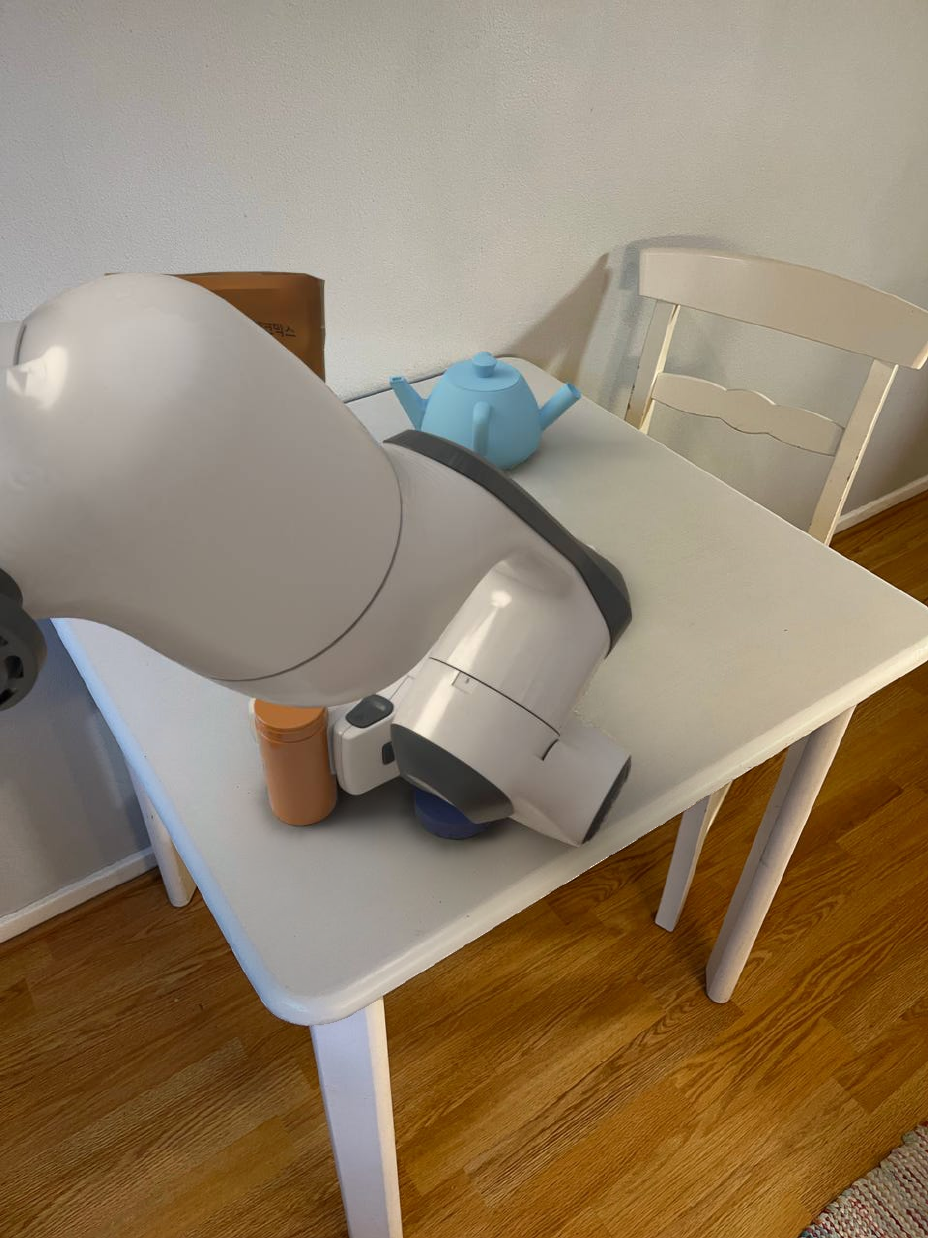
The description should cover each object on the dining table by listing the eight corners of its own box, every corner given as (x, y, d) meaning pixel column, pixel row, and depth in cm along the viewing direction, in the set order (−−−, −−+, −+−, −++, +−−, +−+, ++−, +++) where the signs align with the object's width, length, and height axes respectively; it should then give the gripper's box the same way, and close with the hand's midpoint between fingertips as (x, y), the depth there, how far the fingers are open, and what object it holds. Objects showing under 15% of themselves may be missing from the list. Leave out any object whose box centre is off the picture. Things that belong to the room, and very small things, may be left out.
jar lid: (513, 807, 67) (514, 793, 66) (454, 854, 64) (455, 840, 63) (455, 761, 71) (456, 747, 70) (396, 804, 67) (396, 790, 66)
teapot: (496, 501, 99) (501, 407, 92) (386, 446, 107) (383, 357, 100) (579, 450, 108) (590, 362, 100) (472, 404, 116) (474, 319, 109)
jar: (280, 835, 65) (263, 738, 58) (262, 785, 68) (244, 688, 62) (346, 812, 67) (337, 716, 60) (325, 765, 70) (314, 668, 63)
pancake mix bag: (338, 567, 89) (314, 285, 71) (151, 551, 90) (81, 270, 72) (351, 528, 94) (332, 256, 76) (175, 514, 95) (114, 242, 77)
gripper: (508, 597, 72) (377, 535, 78) (332, 752, 59) (192, 662, 65) (504, 655, 76) (380, 591, 82) (338, 811, 63) (206, 722, 69)
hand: (295, 624), depth 73 cm, fingers open, 7 cm apart
